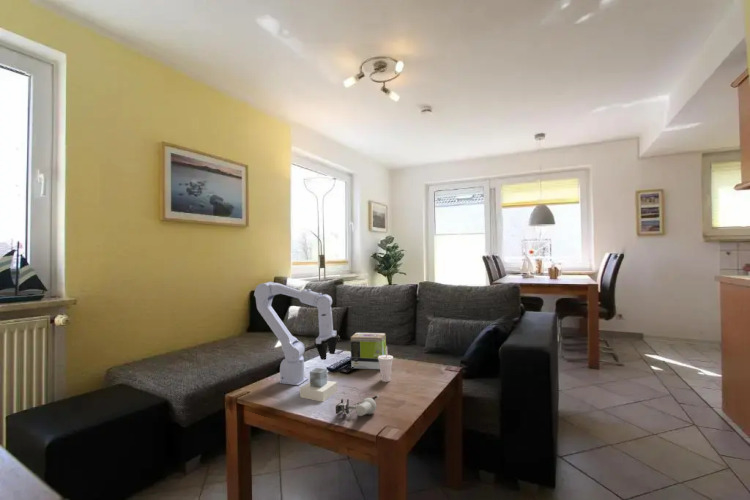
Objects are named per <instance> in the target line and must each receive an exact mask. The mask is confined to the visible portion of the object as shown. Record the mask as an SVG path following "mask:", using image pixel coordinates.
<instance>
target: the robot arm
mask: <svg viewBox="0 0 750 500" xmlns="http://www.w3.org/2000/svg"><path fill="white" fill-rule="evenodd" d="M277 295H285V296H287V297H291V298H292V297H293V298H295V299H298V300H299V301H300V303H301V304H306V305H309V306H312V307H316V308H317V311H318V318H317V319H318V332H319V333H318V336H317V337H316V338H315V342H314V347H315V348H316V350H317V352H318V355H319V358H320V360H321V361H323V360H324V361H326V360H327V357H328V356H327V354H328V353H327V351H328V352H329V355H335V353H336V348H337V343H338V340H339V335H337V330H336V329H335V330H334V326H333V325H334V324H333V322H334V321H333V312H332V311H333V310H332V304H333V299H332V296H331V295H329V294H327V293H324V294H323V293H322V292H317V291H314V290H313V291H312V289H311V288H307V289H303V290H300V289H297V288H294V287H291V286H288V285H285V284H283V283H280V282H273V281H267V282H261V283H260V284H257V285H256V287H255V290H254V294H253V296H254V297H255V304H256V309H257V311H258V313H259V314H260V315H261V317H262V318H263V320H264V321H265V322H266V324H267V326H269V328H270V330H271V331H272V332H273V334H274V335H275V337H276V338H277V339H278V341H279V342H280V344H281V345H280V347H281V351H282V352H283V354H284V359H283V360H281V363H280V365H279V366H280V367H279V379H280V380H279V384H283V385H293V386H300V385H302V384H303V383H304V382H306V381H307V380H309V377H306V376H305V358H304V356H303V355H304V353H305V351H306V347H305V345H304V343H303V342H302V341H300V340H298V338H297V337H296V336H294V335H293V334H292V333H291V332H290V331H289V329H288V328H287V326H286V325H285V323H284V322H283V320H282V319H281V318H280V317H279V315H278V313H277V312H276V311H275V309H274V308H273V306H272V303H273V299H274V297H275V296H277ZM325 341H326V342H325Z"/></svg>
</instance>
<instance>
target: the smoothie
mask: <svg viewBox="0 0 750 500" xmlns="http://www.w3.org/2000/svg"><path fill="white" fill-rule="evenodd" d="M378 360H379V365H380V369H379V371H380V378H381V382H384V383H386V382H387V383H388V382H390V381H391V376H392V368H393V360H394V356H393V355H390V354H388V346H387V345H386V355H380V356H379V357H378Z"/></svg>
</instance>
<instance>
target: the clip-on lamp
mask: <svg viewBox="0 0 750 500" xmlns="http://www.w3.org/2000/svg"><path fill="white" fill-rule="evenodd" d="M356 392H357V394H358V395H359V397H360V399H361V403H360V402H359V401H356V402H355V404H354V405H350V402H349V401H350V400H349V399H346V403H344V399H342V398H341V400H340V402H339V403H338V404H336V405H335V415H339V414H345V416H347V417H348V418H351V413H352V412H353V410H355V414H357V416H358V417H363V416H365V415H372V414H374V413H375V412H376V409H377V403H376V399H378V398H379V397H380V396H379V395H374V396H373V397H366V398H363V396H362V395H361V393H360V392H359V391H358V390H357V391H356ZM350 409H351V410H350Z"/></svg>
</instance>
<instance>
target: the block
mask: <svg viewBox="0 0 750 500" xmlns="http://www.w3.org/2000/svg"><path fill="white" fill-rule="evenodd" d="M327 373H328V370H327V368H319V367H315V368H314V369H312V370H311V371H309V382H310V386H311V387H318V388H321V387H323V386H324V385H326V384H327V381H328V379H327V378H328V376H327V375H328V374H327Z"/></svg>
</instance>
